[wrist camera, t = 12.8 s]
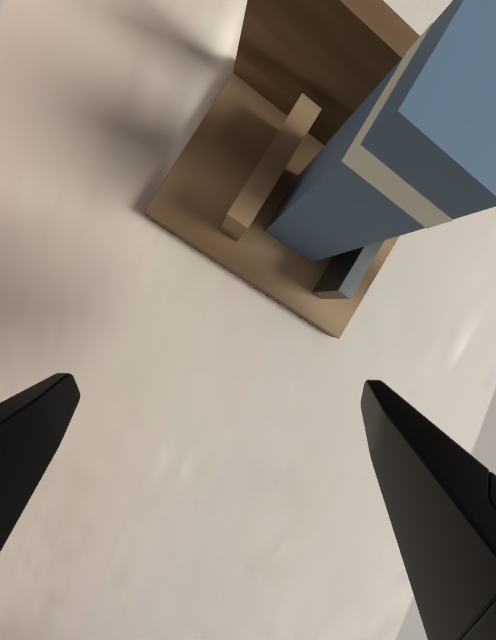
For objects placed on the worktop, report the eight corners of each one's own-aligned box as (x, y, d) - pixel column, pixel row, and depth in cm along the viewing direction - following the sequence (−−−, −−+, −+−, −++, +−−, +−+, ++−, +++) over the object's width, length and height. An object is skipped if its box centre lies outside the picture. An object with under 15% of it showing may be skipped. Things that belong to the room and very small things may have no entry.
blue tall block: (310, 263, 19) (504, 205, 8) (263, 230, 19) (396, 110, 7) (343, 208, 19) (580, 69, 8) (298, 174, 19) (483, -36, 7)
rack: (331, 336, 21) (418, 358, 13) (146, 216, 18) (115, 152, 10) (411, 201, 21) (541, 144, 14) (243, 64, 19) (284, -106, 11)
